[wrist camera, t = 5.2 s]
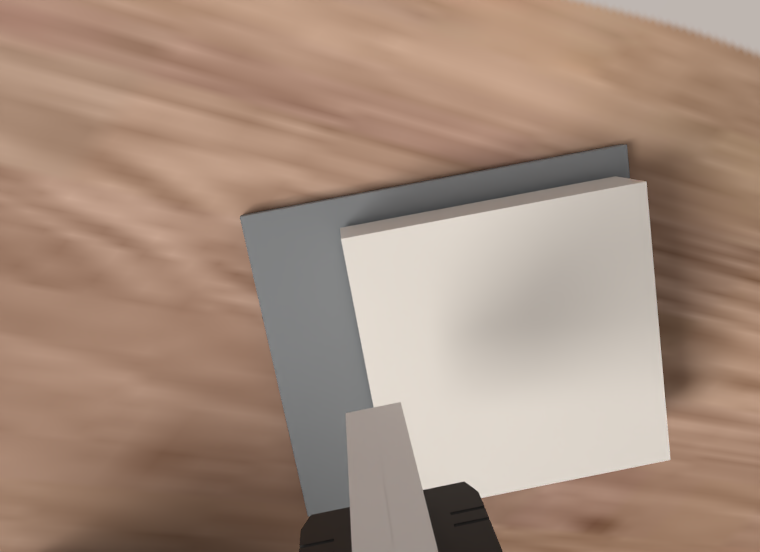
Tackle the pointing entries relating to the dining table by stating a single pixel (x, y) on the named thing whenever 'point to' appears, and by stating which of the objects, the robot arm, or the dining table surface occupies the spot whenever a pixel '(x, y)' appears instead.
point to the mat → (335, 304)
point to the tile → (516, 334)
